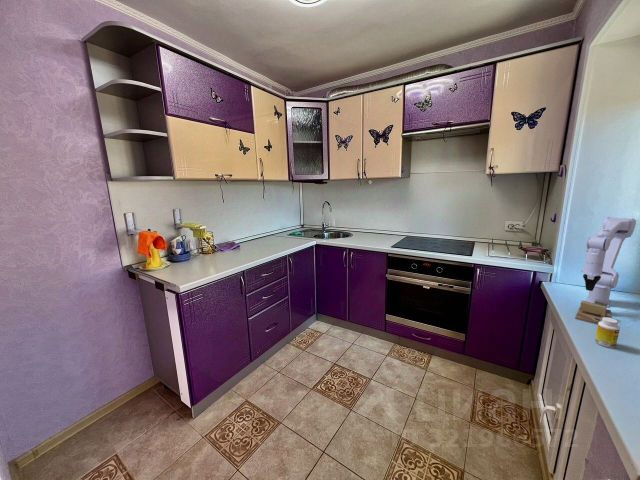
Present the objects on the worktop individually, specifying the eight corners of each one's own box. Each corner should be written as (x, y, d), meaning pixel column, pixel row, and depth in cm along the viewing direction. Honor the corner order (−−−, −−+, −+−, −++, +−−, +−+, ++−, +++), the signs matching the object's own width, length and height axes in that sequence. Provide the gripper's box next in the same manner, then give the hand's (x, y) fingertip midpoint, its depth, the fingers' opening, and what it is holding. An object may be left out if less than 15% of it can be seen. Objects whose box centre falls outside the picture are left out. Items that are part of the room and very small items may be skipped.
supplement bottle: (614, 350, 97) (619, 325, 95) (592, 343, 101) (597, 319, 99) (617, 344, 100) (622, 320, 98) (596, 338, 104) (601, 314, 102)
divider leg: (580, 309, 124) (581, 300, 123) (604, 315, 118) (606, 305, 117) (579, 311, 122) (580, 302, 121) (604, 317, 116) (606, 308, 115)
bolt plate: (581, 305, 131) (581, 303, 130) (610, 312, 123) (611, 309, 123) (575, 318, 119) (575, 316, 119) (607, 327, 111) (608, 324, 111)
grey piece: (593, 307, 126) (595, 298, 125) (606, 310, 123) (607, 301, 122) (589, 319, 116) (591, 309, 115) (603, 322, 113) (605, 312, 112)
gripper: (584, 257, 128) (579, 284, 131) (580, 264, 119) (575, 292, 122) (605, 260, 123) (600, 287, 126) (602, 267, 114) (597, 296, 117)
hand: (589, 290), depth 123 cm, fingers closed
